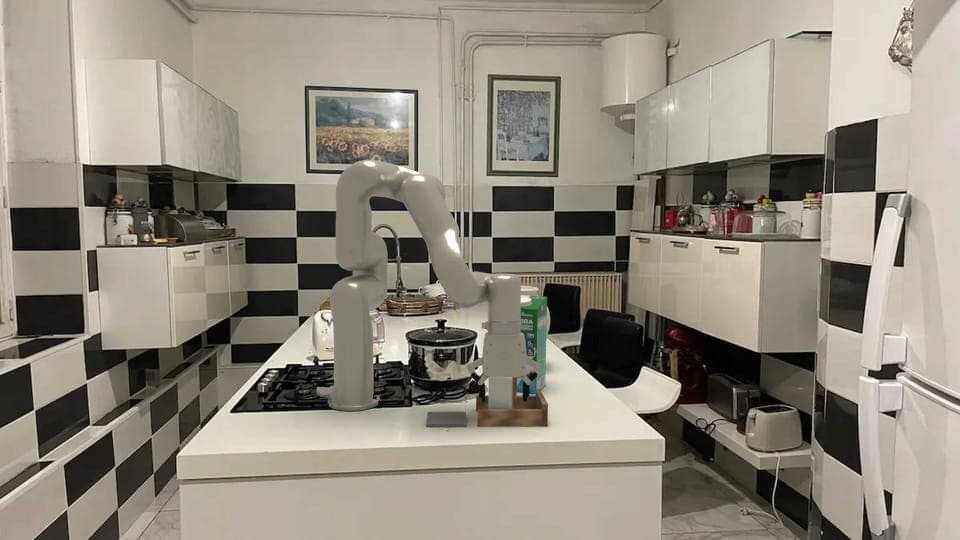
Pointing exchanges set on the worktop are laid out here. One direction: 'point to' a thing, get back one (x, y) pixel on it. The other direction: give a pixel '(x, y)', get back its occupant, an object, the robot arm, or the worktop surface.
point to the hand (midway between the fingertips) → (504, 400)
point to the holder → (515, 412)
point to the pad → (446, 419)
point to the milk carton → (534, 337)
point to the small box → (502, 393)
